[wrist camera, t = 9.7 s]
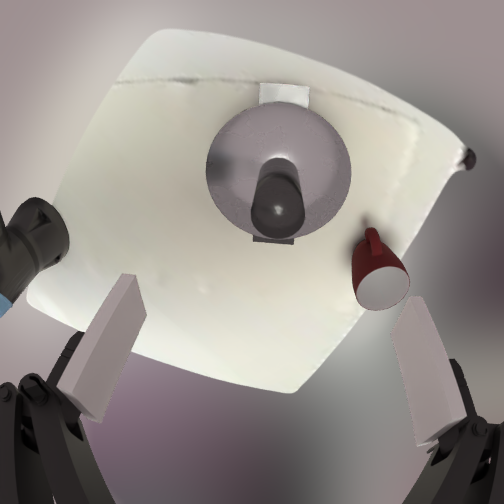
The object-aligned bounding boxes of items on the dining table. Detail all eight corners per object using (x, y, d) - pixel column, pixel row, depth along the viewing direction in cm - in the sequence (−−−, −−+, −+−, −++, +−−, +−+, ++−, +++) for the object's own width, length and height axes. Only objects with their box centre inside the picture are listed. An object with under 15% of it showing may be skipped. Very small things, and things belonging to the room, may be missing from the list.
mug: (333, 223, 42) (345, 262, 33) (382, 207, 39) (405, 242, 31) (349, 274, 47) (361, 317, 38) (393, 260, 44) (411, 300, 36)
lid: (213, 223, 35) (187, 284, 25) (211, 99, 27) (172, 110, 17) (334, 232, 34) (352, 297, 24) (354, 110, 26) (394, 129, 16)
